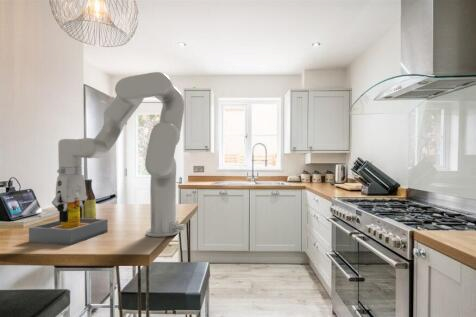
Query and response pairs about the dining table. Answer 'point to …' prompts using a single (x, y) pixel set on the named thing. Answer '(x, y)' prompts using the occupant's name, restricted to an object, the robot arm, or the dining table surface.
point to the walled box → (67, 231)
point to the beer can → (72, 214)
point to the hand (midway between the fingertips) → (71, 219)
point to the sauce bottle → (89, 202)
